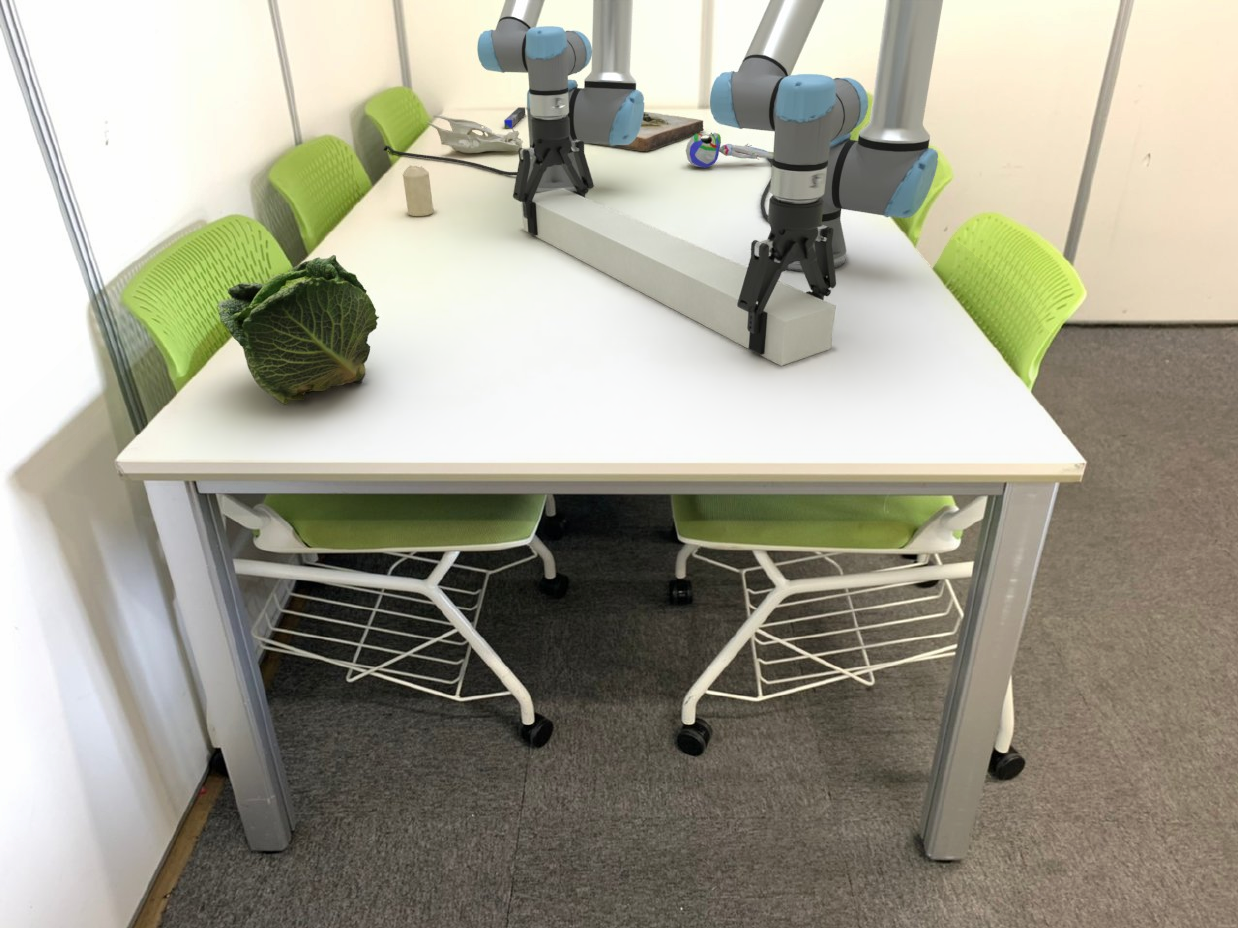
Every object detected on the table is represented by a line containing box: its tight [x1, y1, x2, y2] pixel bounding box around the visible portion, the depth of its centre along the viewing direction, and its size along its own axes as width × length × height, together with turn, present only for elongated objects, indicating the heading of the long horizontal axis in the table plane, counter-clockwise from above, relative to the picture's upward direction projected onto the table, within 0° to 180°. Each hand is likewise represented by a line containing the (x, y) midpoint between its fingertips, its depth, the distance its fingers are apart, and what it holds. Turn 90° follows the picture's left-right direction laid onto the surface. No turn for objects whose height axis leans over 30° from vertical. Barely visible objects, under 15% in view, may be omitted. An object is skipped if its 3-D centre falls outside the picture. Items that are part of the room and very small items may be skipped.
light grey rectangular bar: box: [520, 188, 837, 367], centre depth 159 cm, size 79×10×7 cm, turn 34°
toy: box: [685, 132, 773, 168], centre depth 228 cm, size 10×8×30 cm
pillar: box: [503, 107, 527, 129], centre depth 277 cm, size 2×2×20 cm
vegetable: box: [216, 254, 380, 405], centre depth 123 cm, size 20×19×20 cm
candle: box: [402, 165, 434, 217], centre depth 195 cm, size 6×6×10 cm
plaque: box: [591, 111, 705, 152], centre depth 257 cm, size 30×7×30 cm
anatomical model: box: [427, 114, 524, 154], centre depth 243 cm, size 15×9×25 cm
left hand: (555, 228), depth 185 cm, fingers closed on light grey rectangular bar, 10 cm apart
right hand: (783, 342), depth 137 cm, fingers closed on light grey rectangular bar, 10 cm apart
